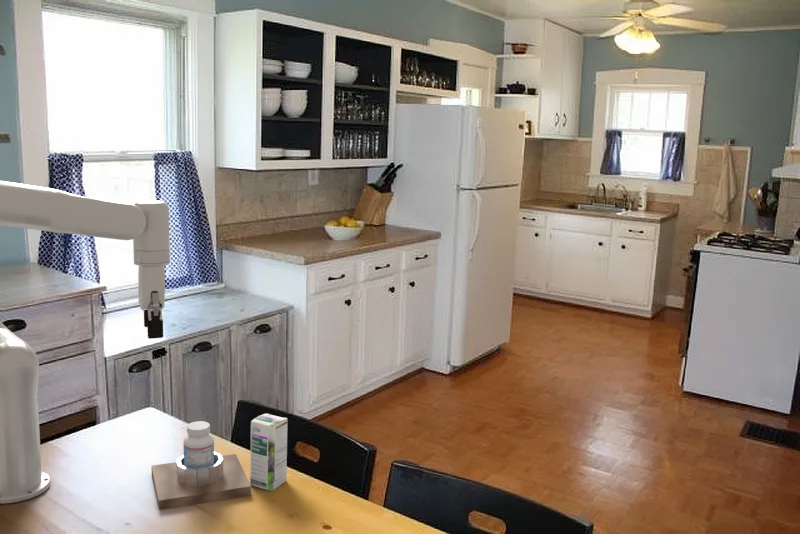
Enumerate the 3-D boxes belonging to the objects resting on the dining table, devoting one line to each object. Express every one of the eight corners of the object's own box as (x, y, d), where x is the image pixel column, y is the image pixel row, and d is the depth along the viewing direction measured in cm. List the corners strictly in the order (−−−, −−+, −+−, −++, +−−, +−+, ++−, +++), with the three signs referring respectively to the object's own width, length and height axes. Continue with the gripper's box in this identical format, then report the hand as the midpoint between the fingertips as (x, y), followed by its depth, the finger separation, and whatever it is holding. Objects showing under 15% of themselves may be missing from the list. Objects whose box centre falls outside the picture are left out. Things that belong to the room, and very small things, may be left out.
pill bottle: (191, 468, 155) (190, 418, 153) (218, 470, 154) (218, 420, 152) (179, 481, 149) (178, 429, 147) (207, 484, 148) (206, 432, 146)
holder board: (158, 510, 142) (158, 500, 141) (151, 474, 156) (151, 465, 156) (250, 495, 149) (250, 486, 148) (235, 462, 163) (235, 454, 163)
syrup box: (249, 485, 153) (249, 420, 150) (265, 474, 158) (266, 411, 155) (271, 492, 150) (272, 426, 148) (287, 480, 155) (288, 416, 153)
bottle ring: (180, 489, 146) (179, 472, 145) (174, 469, 154) (174, 454, 154) (226, 482, 150) (226, 466, 149) (218, 463, 158) (218, 448, 157)
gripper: (131, 251, 166) (133, 323, 169) (136, 264, 150) (138, 344, 153) (165, 250, 169) (166, 321, 172) (174, 263, 153) (175, 341, 156)
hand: (153, 332), depth 162 cm, fingers open, 9 cm apart
